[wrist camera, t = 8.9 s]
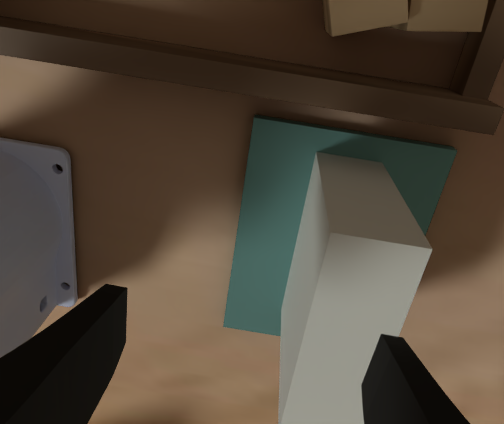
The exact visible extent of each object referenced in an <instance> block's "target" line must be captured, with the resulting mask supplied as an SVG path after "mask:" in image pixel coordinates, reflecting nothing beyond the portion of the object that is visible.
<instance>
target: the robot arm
mask: <svg viewBox="0 0 504 424" xmlns="http://www.w3.org/2000/svg"><path fill="white" fill-rule="evenodd" d="M56 164H58V165H60V166H61V167H62V169H63V171H59V170H58V169H57V167H56ZM64 282H65V283H68V284H69V286H68V285H66V284H65V283H64ZM77 299H78V295H77V276H76V256H75V237H74V217H73V198H72V178H71V159H70V155H69V153H68V152H67V151H66V150H65V149H63V148H61V147H56V146H49V145H43V144H37V143H31V142H25V141H19V140H13V139H7V138H1V137H0V424H87V423H88V422H89V420H90V418H91V416H92V414H93V412H94V410H95V409H96V407H97V405H98V403H99V401H100V399H101V397H102V395H103V394H104V392H105V390H106V388H107V386H108V384H109V382H110V380H111V378H112V376H113V374H114V372H115V369H116V367H117V364H118V362H119V359H120V356H121V354H122V351H123V348H124V346H125V343H126V318H127V288H126V287H120V286H115V285H109V284H105V285H104V286H102V287H101V288H100V289H98V290H97V291H96V292H94V293H93V294H92V295H90V296H89V297H88V298H86V299H85V300H84V301H82V302H81V303H80V304H79V305H77V306H76V307H75V308H73V309H72V310H71V311H69V312H68V313H66V314H65V315H64V316H62V317H61V318H60V319H58V320H57V321H55V322H54V323H53V324H51V325H50V326H48V327H47V328H46V329H44V330H43V331H41V332H40V333H38V334H37V335H35V336H34V337H32V336H33V335H34V334H35V332H36V331H37V330H38V329H39V327H40V326H41V325H42V323H43V322H44V321H45V319H46V318H47V317H48V316H49V314H50V313H51V312H52V310H53V309H54V308H55V307H56V305H59V306H65V307H71V306H73V305H74V304H75V303H76V302H77ZM361 390H362V406H363V418H364V424H470V423H469V422H468V421H467V420H466V418H465V417H464V416H463V415H462V414H461V412H460V411H459V410H458V409H457V408H456V406H455V405H454V404H453V403H452V401H451V400H450V399H449V398H448V396H447V395H446V394H445V393H444V391H443V390H442V389H441V387H440V386H439V385H438V384H437V382H436V381H435V380H434V378H433V377H432V376H431V374H430V373H429V372H428V370H427V369H426V368H425V366H424V365H423V364H422V362H421V361H420V360H419V358H418V357H417V356H416V354H415V353H414V352H413V350H412V349H411V348H410V346H409V345H408V344H407V342H406V341H405V340H404V339H403V338H402V337H397V336H391V335H386V334H381V335H380V338H379V340H378V343H377V346H376V348H375V351H374V353H373V356H372V359H371V361H370V364H369V366H368V369H367V372H366V374H365V377H364V379H363V382H362V384H361Z"/></svg>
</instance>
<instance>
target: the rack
mask: <svg viewBox="0 0 504 424" xmlns="http://www.w3.org/2000/svg"><path fill="white" fill-rule="evenodd" d="M0 55H5V56H11V57H17V58H23V59H29V60H35V61H42V62H48V63H54V64H60V65H66V66H72V67H78V68H85V69H91V70H97V71H103V72H109V73H115V74H121V75H128V76H134V77H140V78H146V79H152V80H158V81H164V82H171V83H177V84H183V85H189V86H195V87H201V88H208V89H214V90H220V91H226V92H232V93H238V94H244V95H251V96H257V97H263V98H269V99H275V100H281V101H287V102H294V103H300V104H306V105H312V106H318V107H324V108H331V109H337V110H343V111H349V112H355V113H361V114H367V115H374V116H380V117H386V118H392V119H398V120H404V121H410V122H417V123H423V124H429V125H435V126H441V127H447V128H453V129H460V130H466V131H472V132H478V133H484V134H490V135H494V133H495V131H496V128H497V126H498V123H499V121H500V118H501V116H502V114H503V111H504V108H503V107H501V106H499V105H497V104H495V103H493V102H491V101H489V100H487V99H488V97H489V94H490V92H491V89H492V87H493V84H494V81H495V79H496V76H497V74H498V71H499V69H500V66H501V63H502V61H503V58H504V0H488V4H487V8H486V13H485V17H484V22H483V26H482V31H481V32H469V33H468V36H467V39H466V42H465V45H464V47H463V50H462V53H461V56H460V59H459V62H458V65H457V68H456V71H455V74H454V76H453V79H452V82H451V85H450V88H449V89H447V88H441V87H434V86H428V85H422V84H416V83H410V82H404V81H397V80H391V79H385V78H379V77H373V76H367V75H360V74H354V73H348V72H342V71H336V70H329V69H323V68H317V67H311V66H305V65H299V64H292V63H286V62H280V61H274V60H268V59H262V58H255V57H249V56H243V55H237V54H231V53H225V52H218V51H212V50H206V49H200V48H194V47H188V46H181V45H175V44H169V43H163V42H157V41H150V40H144V39H138V38H132V37H126V36H120V35H113V34H107V33H101V32H95V31H89V30H83V29H76V28H70V27H64V26H58V25H52V24H46V23H39V22H33V21H27V20H21V19H15V18H8V17H2V16H0Z"/></svg>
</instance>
